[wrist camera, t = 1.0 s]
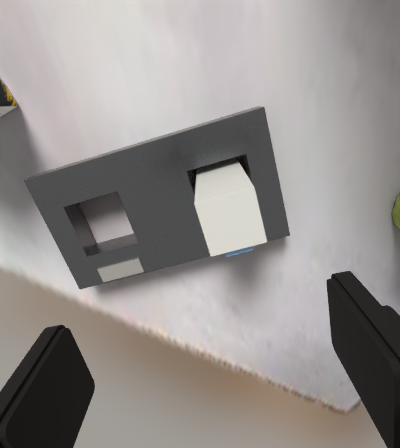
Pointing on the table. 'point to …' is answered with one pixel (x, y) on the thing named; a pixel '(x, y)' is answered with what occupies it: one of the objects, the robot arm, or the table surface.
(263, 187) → the jack panel
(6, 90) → the medicine bottle
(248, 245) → the plug
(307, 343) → the table surface
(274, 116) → the table surface
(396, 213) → the plant pot
